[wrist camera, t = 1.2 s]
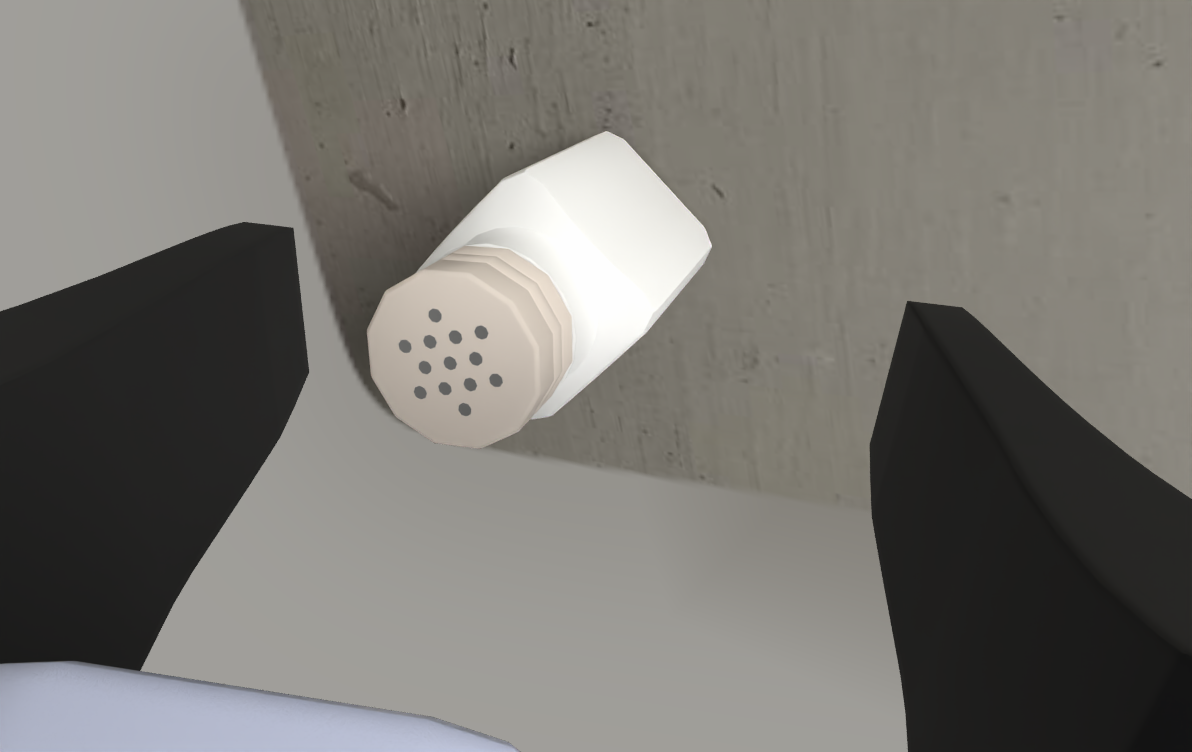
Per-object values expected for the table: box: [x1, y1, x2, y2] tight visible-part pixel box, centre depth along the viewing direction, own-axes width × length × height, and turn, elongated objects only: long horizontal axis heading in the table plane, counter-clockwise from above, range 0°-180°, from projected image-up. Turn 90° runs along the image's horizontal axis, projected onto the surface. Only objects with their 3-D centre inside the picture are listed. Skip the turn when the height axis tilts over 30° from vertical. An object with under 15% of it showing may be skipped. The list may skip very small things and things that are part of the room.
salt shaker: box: [367, 131, 712, 449], centre depth 22 cm, size 4×4×10 cm
